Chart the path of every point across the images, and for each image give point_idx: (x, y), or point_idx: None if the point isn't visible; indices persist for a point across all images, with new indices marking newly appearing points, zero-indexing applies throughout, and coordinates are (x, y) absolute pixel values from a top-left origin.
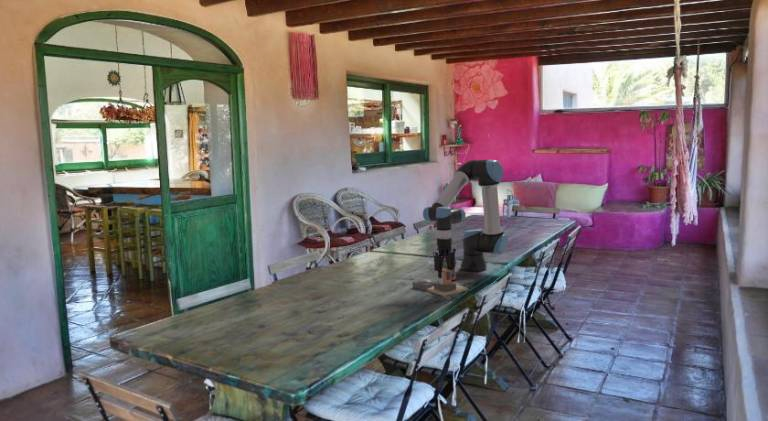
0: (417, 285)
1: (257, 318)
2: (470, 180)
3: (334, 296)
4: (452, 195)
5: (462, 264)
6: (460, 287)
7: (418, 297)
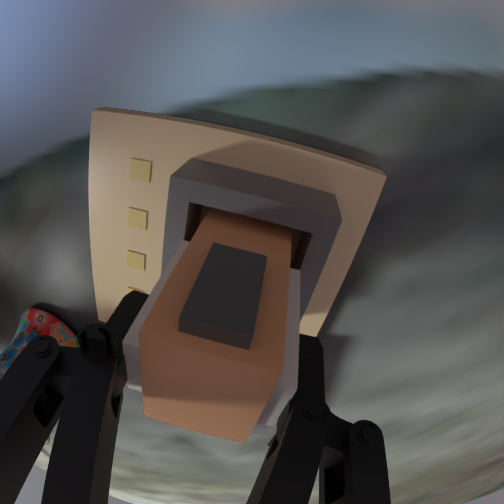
0: None
1: None
2: None
3: (483, 458)
4: None
5: None
6: (119, 168)
7: (470, 301)
